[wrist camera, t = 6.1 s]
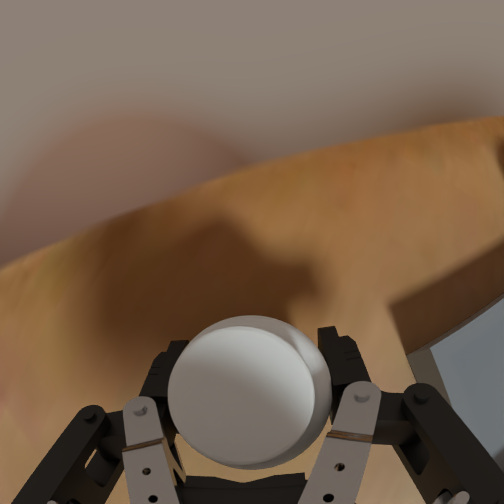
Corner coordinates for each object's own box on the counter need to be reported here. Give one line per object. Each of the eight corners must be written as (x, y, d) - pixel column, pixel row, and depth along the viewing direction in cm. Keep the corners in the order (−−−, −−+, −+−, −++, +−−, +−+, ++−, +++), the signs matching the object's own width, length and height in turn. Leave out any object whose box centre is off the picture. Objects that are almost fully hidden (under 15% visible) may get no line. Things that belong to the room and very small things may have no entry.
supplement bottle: (199, 404, 17) (107, 415, 7) (248, 326, 18) (206, 260, 9) (282, 452, 15) (274, 524, 6) (331, 371, 17) (382, 353, 7)
